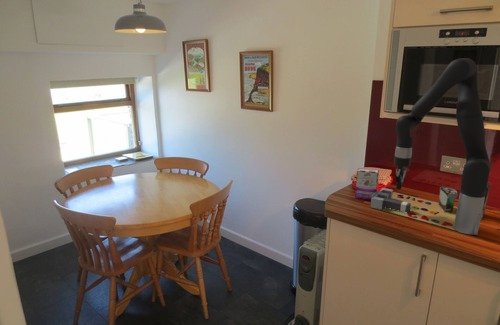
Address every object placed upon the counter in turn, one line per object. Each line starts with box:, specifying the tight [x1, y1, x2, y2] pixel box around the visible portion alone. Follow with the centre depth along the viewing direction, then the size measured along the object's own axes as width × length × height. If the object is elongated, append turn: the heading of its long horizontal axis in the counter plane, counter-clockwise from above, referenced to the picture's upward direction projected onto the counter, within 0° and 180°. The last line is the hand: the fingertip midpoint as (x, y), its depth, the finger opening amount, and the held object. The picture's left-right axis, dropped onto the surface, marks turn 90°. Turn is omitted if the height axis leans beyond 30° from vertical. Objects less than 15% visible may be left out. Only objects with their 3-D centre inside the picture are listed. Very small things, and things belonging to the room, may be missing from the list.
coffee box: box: [481, 182, 491, 220], centre depth 164 cm, size 9×6×16 cm
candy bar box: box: [354, 167, 380, 201], centre depth 185 cm, size 11×5×16 cm, turn 67°
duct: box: [370, 187, 394, 210], centre depth 181 cm, size 6×19×6 cm, turn 143°
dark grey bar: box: [379, 197, 412, 214], centre depth 173 cm, size 16×4×4 cm, turn 53°
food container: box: [437, 186, 459, 213], centre depth 172 cm, size 12×6×10 cm, turn 168°
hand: (398, 188), depth 170 cm, fingers closed
